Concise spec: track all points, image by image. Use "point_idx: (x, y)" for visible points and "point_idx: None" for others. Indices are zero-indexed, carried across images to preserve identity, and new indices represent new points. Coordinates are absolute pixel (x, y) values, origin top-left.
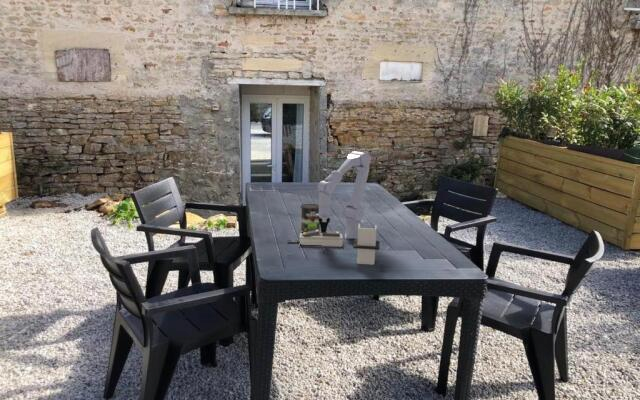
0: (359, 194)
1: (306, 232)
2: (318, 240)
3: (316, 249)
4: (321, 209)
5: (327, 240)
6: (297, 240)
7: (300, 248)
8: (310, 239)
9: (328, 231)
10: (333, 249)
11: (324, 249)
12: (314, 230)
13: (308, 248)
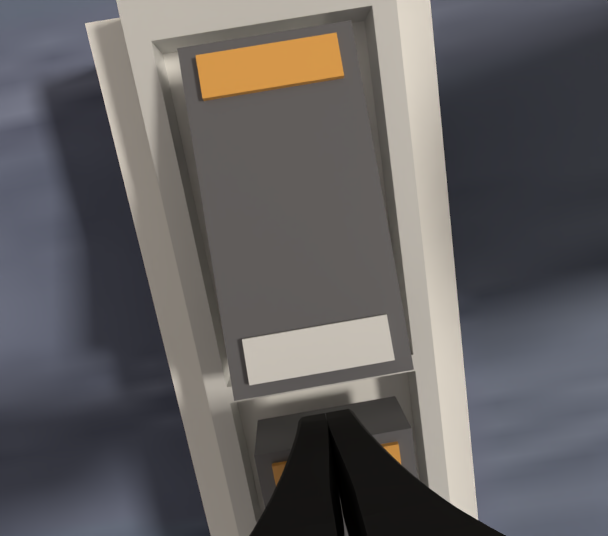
0: None
1: (318, 102)
2: (166, 349)
3: (47, 320)
4: None
5: (196, 475)
6: None
7: (13, 98)
8: (164, 219)
9: None
10: (114, 505)
11: (80, 412)
12: (367, 275)
13: (52, 211)
